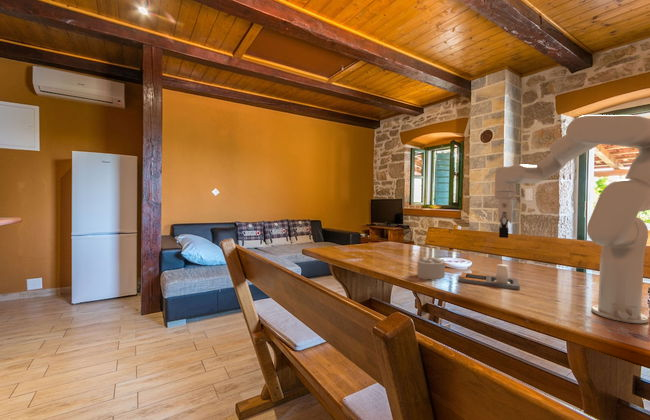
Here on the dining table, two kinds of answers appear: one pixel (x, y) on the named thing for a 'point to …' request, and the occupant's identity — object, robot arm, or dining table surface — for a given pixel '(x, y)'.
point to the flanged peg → (502, 273)
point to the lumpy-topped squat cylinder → (431, 268)
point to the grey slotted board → (488, 280)
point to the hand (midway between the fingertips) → (503, 236)
